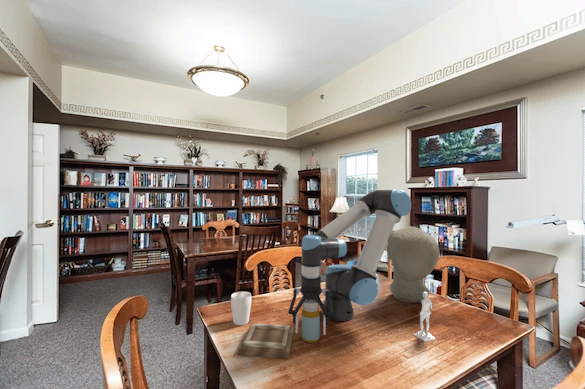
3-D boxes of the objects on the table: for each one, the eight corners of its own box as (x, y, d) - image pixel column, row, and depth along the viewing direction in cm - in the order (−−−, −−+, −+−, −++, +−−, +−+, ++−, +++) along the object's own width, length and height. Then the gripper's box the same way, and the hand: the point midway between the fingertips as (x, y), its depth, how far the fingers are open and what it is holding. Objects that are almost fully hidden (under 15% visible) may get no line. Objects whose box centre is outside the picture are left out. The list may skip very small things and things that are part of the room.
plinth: (293, 332, 113) (293, 323, 113) (288, 358, 95) (289, 348, 95) (250, 330, 115) (250, 321, 115) (237, 355, 97) (237, 344, 97)
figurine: (429, 331, 115) (429, 288, 116) (441, 339, 109) (441, 293, 109) (411, 333, 114) (411, 289, 114) (422, 342, 107) (422, 295, 107)
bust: (441, 299, 151) (442, 226, 151) (436, 319, 127) (437, 231, 127) (393, 290, 164) (394, 223, 164) (380, 307, 140) (381, 228, 140)
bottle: (300, 334, 112) (300, 297, 112) (317, 334, 112) (318, 297, 112) (302, 344, 105) (303, 304, 105) (321, 343, 106) (321, 303, 106)
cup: (247, 327, 117) (247, 299, 117) (227, 325, 119) (227, 297, 119) (254, 318, 126) (254, 292, 126) (235, 316, 128) (235, 290, 128)
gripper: (339, 273, 111) (339, 329, 111) (283, 271, 114) (283, 326, 114) (341, 279, 104) (340, 339, 104) (281, 277, 106) (280, 335, 106)
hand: (310, 332), depth 109 cm, fingers open, 10 cm apart
